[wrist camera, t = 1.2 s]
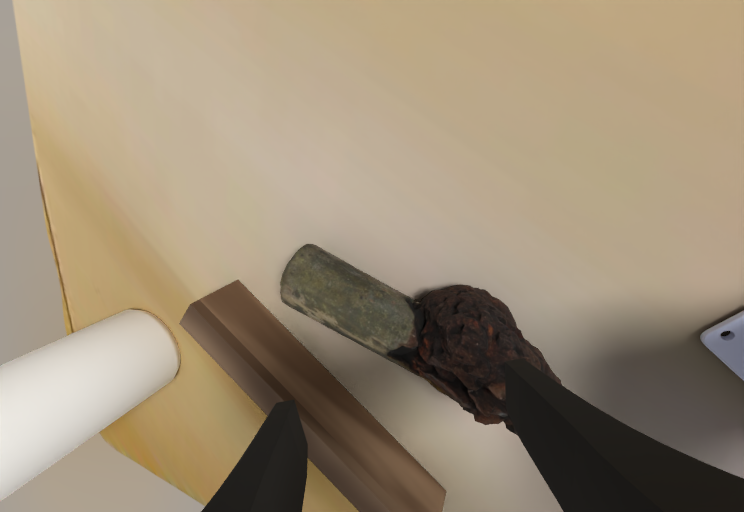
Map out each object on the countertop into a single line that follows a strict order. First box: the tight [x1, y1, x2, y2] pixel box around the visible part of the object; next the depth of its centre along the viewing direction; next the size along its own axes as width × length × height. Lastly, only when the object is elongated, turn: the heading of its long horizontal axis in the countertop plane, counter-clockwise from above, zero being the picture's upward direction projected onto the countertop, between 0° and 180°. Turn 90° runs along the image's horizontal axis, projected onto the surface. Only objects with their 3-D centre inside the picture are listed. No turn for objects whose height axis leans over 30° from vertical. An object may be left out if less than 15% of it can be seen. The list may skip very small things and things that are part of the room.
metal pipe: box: [281, 244, 562, 435], centre depth 21 cm, size 18×7×6 cm, turn 72°
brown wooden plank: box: [179, 280, 446, 512], centre depth 27 cm, size 2×24×5 cm, turn 50°
